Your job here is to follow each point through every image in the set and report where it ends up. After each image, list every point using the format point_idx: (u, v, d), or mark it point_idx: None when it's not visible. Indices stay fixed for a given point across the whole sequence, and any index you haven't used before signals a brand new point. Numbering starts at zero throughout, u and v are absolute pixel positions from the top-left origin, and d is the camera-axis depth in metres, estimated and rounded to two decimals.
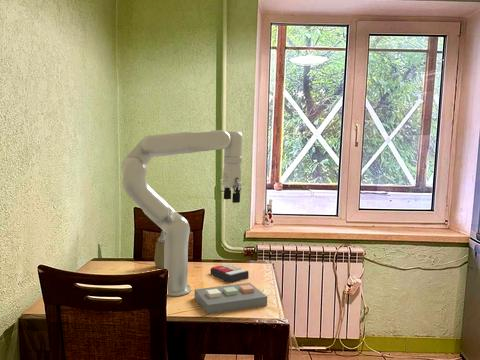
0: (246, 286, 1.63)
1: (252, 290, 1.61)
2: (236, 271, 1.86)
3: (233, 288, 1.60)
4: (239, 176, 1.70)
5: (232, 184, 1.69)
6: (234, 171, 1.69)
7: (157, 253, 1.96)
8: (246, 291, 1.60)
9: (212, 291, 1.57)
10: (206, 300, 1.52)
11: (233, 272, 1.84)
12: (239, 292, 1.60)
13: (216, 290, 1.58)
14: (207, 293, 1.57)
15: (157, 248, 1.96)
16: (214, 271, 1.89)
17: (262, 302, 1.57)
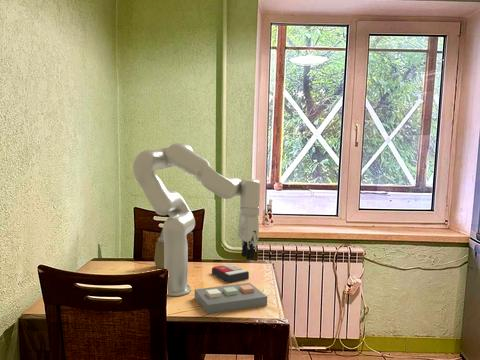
0: (246, 286, 1.63)
1: (252, 290, 1.61)
2: (236, 271, 1.85)
3: (233, 288, 1.60)
4: (257, 229, 1.56)
5: (249, 238, 1.55)
6: (251, 224, 1.55)
7: (157, 253, 1.96)
8: (246, 291, 1.60)
9: (212, 291, 1.57)
10: (206, 300, 1.52)
11: (233, 272, 1.84)
12: (239, 292, 1.60)
13: (216, 290, 1.58)
14: (207, 293, 1.57)
15: (157, 248, 1.96)
16: (215, 271, 1.90)
17: (262, 302, 1.57)
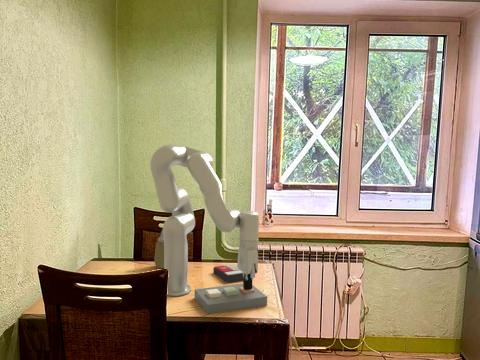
0: None
1: (252, 292, 1.61)
2: (236, 272, 1.85)
3: (233, 288, 1.60)
4: (256, 261, 1.57)
5: (249, 271, 1.56)
6: (251, 257, 1.56)
7: (157, 253, 1.96)
8: None
9: (212, 291, 1.57)
10: (206, 300, 1.52)
11: (232, 272, 1.84)
12: (239, 292, 1.60)
13: (216, 290, 1.58)
14: (207, 293, 1.57)
15: (157, 248, 1.96)
16: (216, 270, 1.91)
17: (262, 302, 1.57)
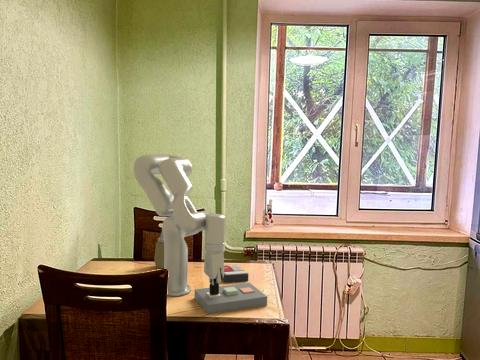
0: (246, 288, 1.63)
1: None
2: (235, 272, 1.84)
3: (233, 288, 1.60)
4: (222, 266, 1.52)
5: (214, 276, 1.50)
6: (216, 261, 1.50)
7: (157, 253, 1.96)
8: None
9: None
10: (206, 300, 1.52)
11: (231, 272, 1.83)
12: (239, 292, 1.60)
13: None
14: None
15: (157, 248, 1.96)
16: None
17: (262, 302, 1.57)
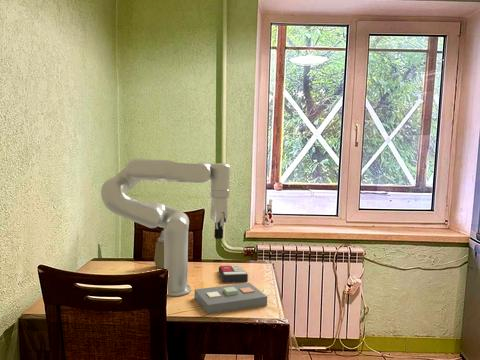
0: (246, 288, 1.63)
1: None
2: (235, 272, 1.84)
3: (233, 288, 1.60)
4: (225, 211, 1.63)
5: (217, 219, 1.62)
6: (220, 205, 1.62)
7: (157, 253, 1.96)
8: None
9: (212, 293, 1.57)
10: (206, 300, 1.52)
11: (230, 273, 1.83)
12: (239, 292, 1.60)
13: (216, 293, 1.58)
14: None
15: (157, 248, 1.96)
16: (219, 269, 1.92)
17: (262, 302, 1.57)
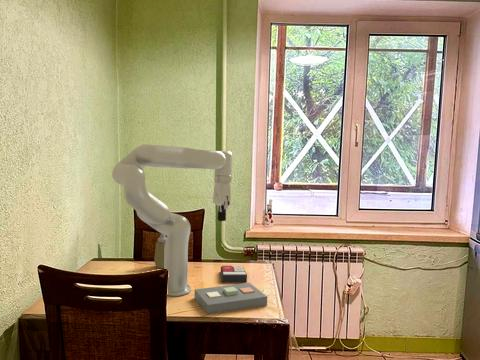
0: (246, 288, 1.63)
1: None
2: (234, 272, 1.84)
3: (233, 288, 1.60)
4: (229, 194, 1.76)
5: (222, 202, 1.75)
6: (224, 190, 1.75)
7: (157, 253, 1.96)
8: None
9: (212, 293, 1.57)
10: (206, 300, 1.52)
11: (230, 273, 1.83)
12: (239, 292, 1.60)
13: (216, 293, 1.58)
14: None
15: (157, 248, 1.96)
16: (221, 269, 1.92)
17: (262, 302, 1.57)
